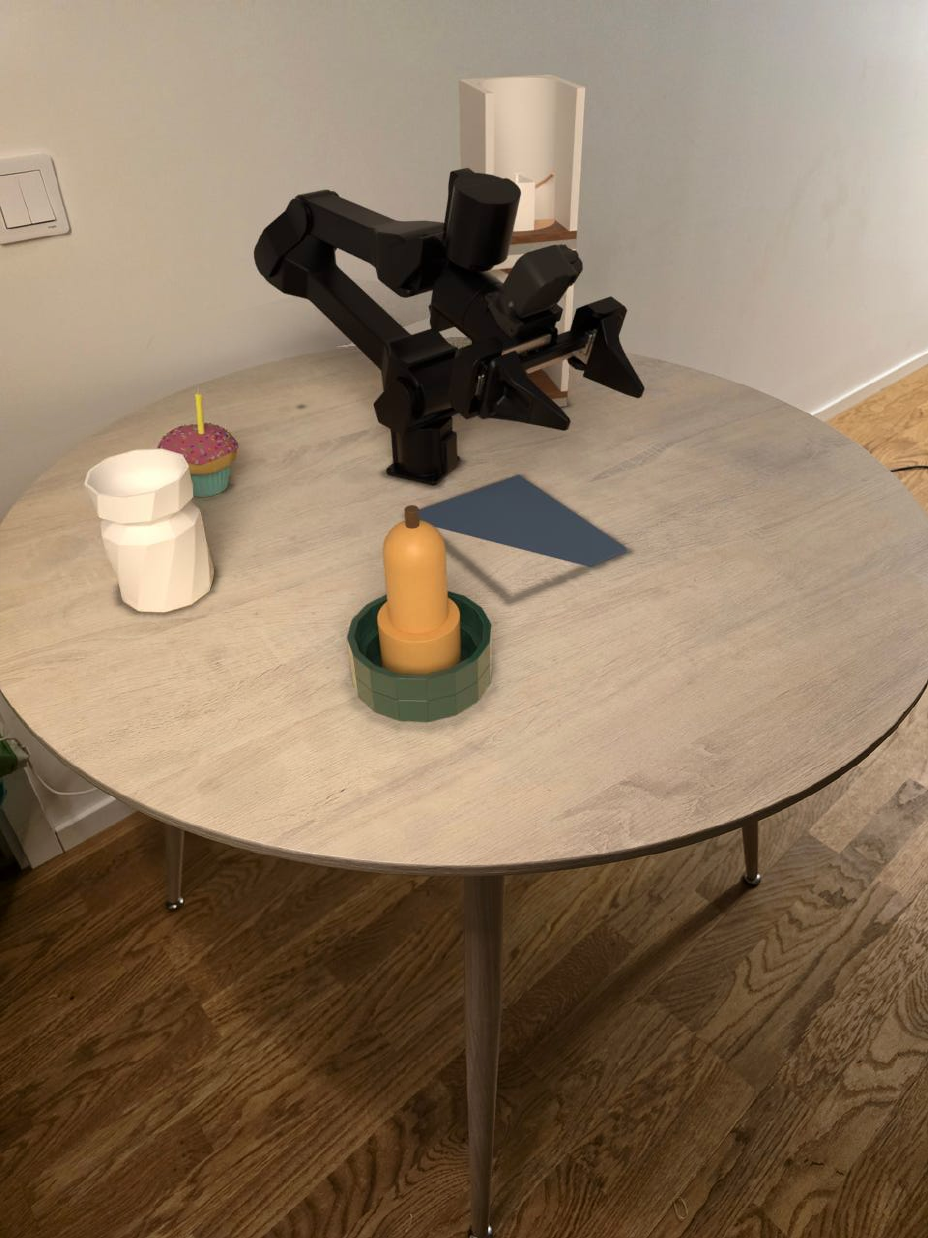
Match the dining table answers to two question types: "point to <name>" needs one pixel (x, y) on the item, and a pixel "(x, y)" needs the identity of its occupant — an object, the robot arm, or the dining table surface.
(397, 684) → the pot
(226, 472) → the cupcake
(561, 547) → the towel
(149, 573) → the vase
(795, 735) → the dining table surface
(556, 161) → the white tower
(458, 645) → the squash
